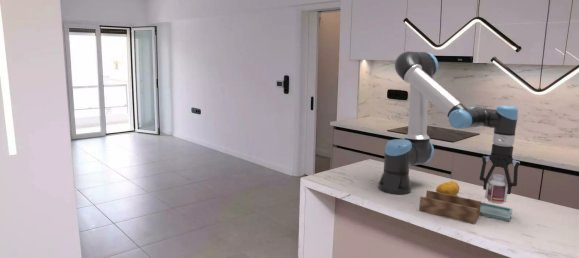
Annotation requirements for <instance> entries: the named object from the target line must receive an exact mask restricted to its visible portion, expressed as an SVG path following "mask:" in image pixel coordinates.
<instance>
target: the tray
mask: <svg viewBox="0 0 579 258" xmlns="http://www.w3.org/2000/svg"><path fill="white" fill-rule="evenodd" d="M512 214H513V208H511V207H507V206H501V205H498V204H493V203H488V202H487V203H486V202H482V201H481V208H480V215H479V216H481V217H484V218H485V217H486V218H490V219H496V220H499V221H503V220H504V222H507V221H508V222H510V220H511V217H512Z"/></svg>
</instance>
